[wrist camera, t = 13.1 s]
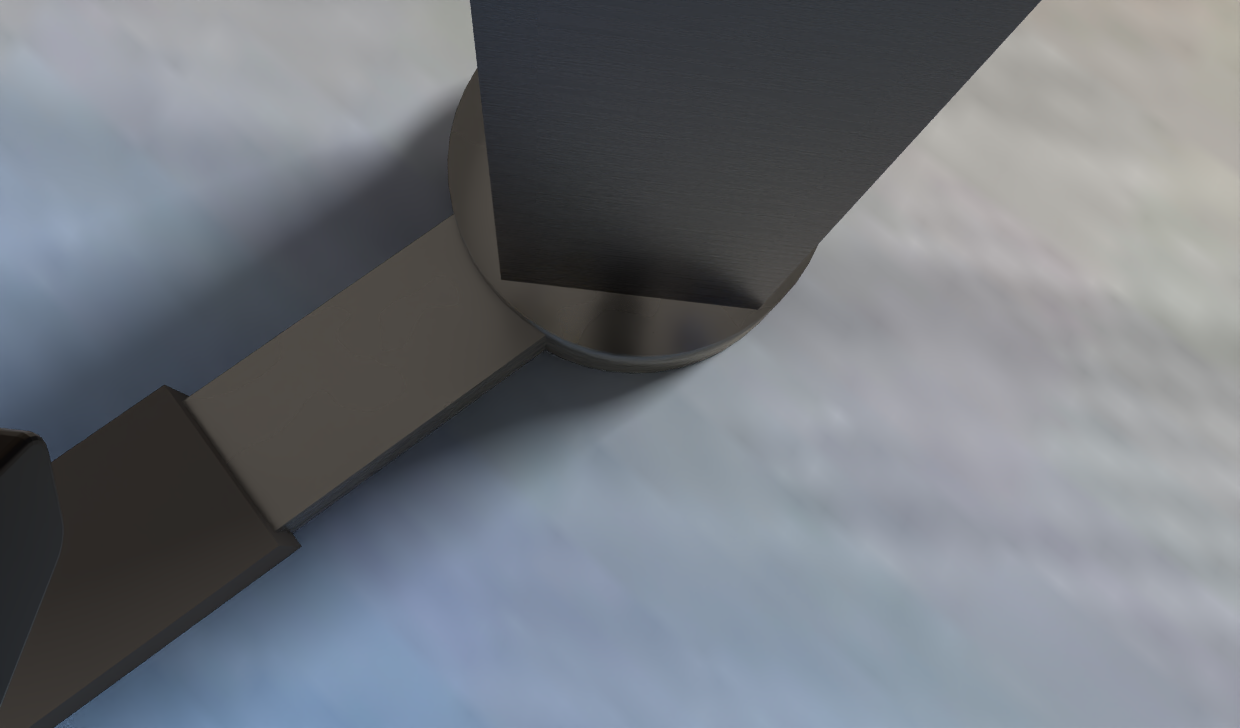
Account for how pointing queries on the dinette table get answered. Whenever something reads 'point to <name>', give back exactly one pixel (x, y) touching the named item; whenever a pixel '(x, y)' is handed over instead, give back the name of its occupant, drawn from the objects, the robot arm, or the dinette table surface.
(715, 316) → the ratchet
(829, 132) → the open-top metal box
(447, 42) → the dinette table surface
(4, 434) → the robot arm
